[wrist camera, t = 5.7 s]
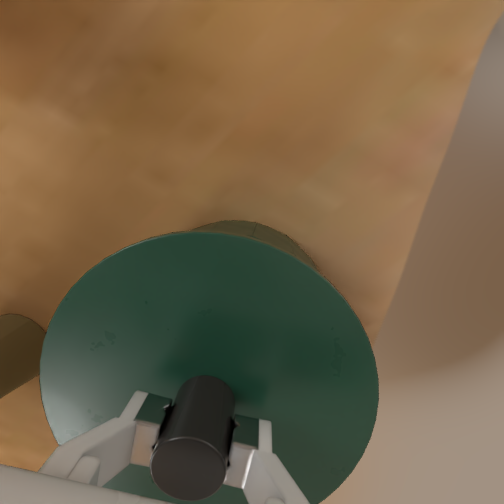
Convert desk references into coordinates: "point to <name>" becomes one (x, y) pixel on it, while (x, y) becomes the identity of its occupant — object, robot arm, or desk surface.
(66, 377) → the lid
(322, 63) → the desk surface
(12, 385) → the cork
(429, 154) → the desk surface
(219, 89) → the desk surface
